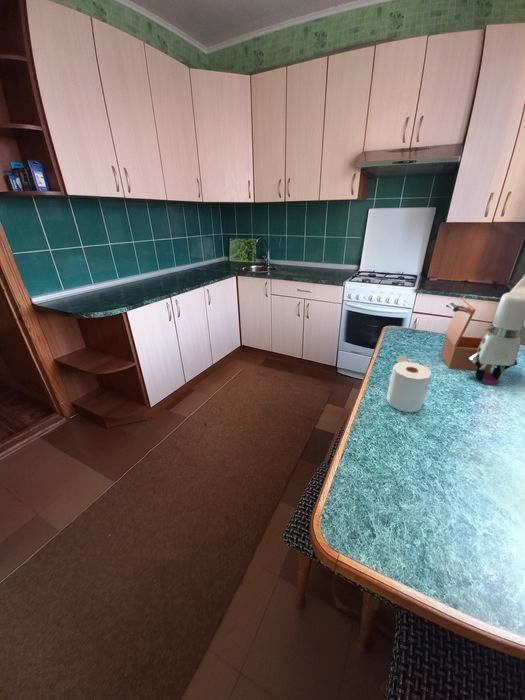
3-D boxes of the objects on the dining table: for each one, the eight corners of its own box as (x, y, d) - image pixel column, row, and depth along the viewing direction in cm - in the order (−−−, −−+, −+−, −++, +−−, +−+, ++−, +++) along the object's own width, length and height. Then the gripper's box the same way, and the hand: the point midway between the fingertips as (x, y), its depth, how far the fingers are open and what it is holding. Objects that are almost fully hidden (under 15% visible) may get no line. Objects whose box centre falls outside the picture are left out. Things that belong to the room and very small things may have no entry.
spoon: (409, 360, 116) (409, 356, 115) (396, 383, 101) (397, 379, 100) (398, 357, 118) (398, 353, 117) (384, 380, 103) (385, 376, 102)
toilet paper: (387, 390, 98) (394, 358, 92) (421, 397, 94) (430, 365, 88) (385, 407, 90) (392, 374, 84) (422, 416, 86) (432, 381, 80)
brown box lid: (463, 299, 109) (448, 297, 109) (475, 309, 99) (459, 306, 99) (446, 334, 116) (432, 331, 116) (456, 346, 106) (441, 343, 106)
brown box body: (477, 357, 117) (484, 337, 113) (489, 372, 107) (498, 350, 103) (439, 354, 120) (445, 334, 116) (448, 368, 110) (455, 347, 106)
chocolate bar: (475, 373, 106) (476, 370, 105) (488, 374, 105) (489, 371, 104) (483, 384, 100) (485, 380, 99) (497, 385, 99) (498, 381, 98)
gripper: (479, 334, 92) (463, 382, 101) (541, 338, 89) (519, 387, 97) (470, 325, 99) (455, 371, 107) (528, 328, 95) (508, 376, 103)
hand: (486, 378), depth 102 cm, fingers closed on chocolate bar, 4 cm apart
